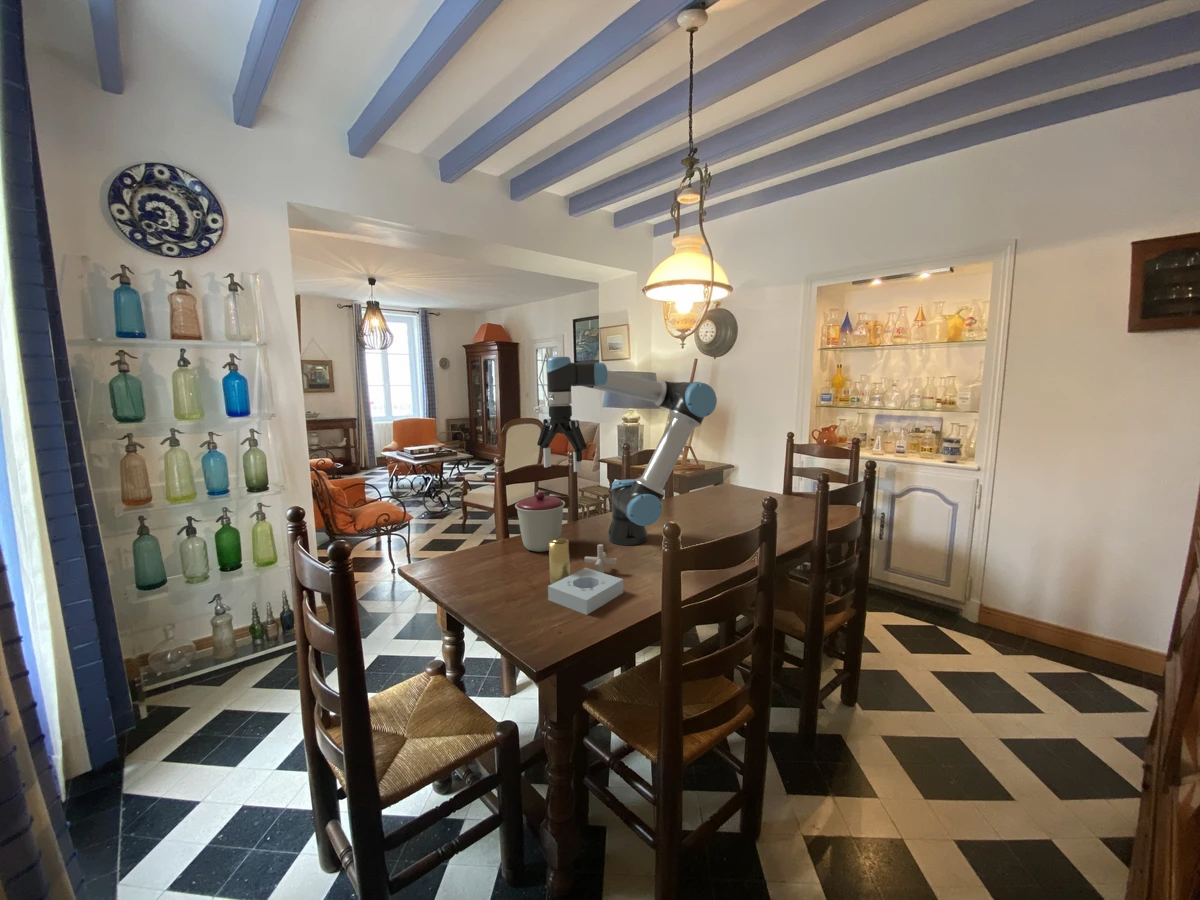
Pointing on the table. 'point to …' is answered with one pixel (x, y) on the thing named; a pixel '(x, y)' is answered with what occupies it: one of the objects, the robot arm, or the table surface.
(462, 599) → the table surface
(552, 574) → the gold metal cylinder
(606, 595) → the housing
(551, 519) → the canister
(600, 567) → the pipe connector
